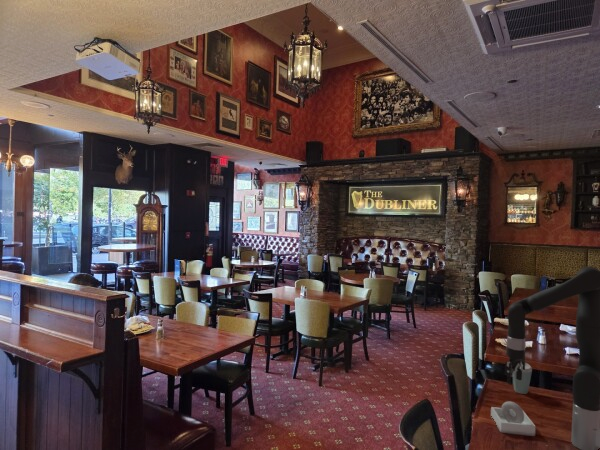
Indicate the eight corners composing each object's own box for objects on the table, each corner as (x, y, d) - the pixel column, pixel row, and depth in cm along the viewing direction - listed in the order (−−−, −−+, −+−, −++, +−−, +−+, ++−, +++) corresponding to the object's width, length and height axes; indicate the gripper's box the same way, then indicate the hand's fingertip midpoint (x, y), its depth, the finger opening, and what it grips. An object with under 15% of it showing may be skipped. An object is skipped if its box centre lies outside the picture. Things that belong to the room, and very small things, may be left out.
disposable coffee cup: (534, 397, 208) (535, 369, 208) (512, 394, 210) (513, 367, 210) (527, 388, 218) (528, 361, 218) (506, 386, 221) (507, 359, 220)
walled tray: (522, 419, 185) (522, 410, 184) (535, 436, 171) (535, 426, 171) (490, 416, 187) (491, 406, 187) (500, 432, 173) (501, 422, 173)
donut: (499, 419, 182) (500, 398, 181) (503, 417, 184) (504, 396, 183) (521, 430, 174) (522, 407, 173) (525, 427, 176) (526, 405, 175)
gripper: (516, 352, 171) (515, 388, 171) (531, 346, 179) (530, 381, 180) (499, 347, 177) (498, 382, 177) (515, 341, 185) (513, 375, 186)
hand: (514, 381), depth 179 cm, fingers open, 8 cm apart
